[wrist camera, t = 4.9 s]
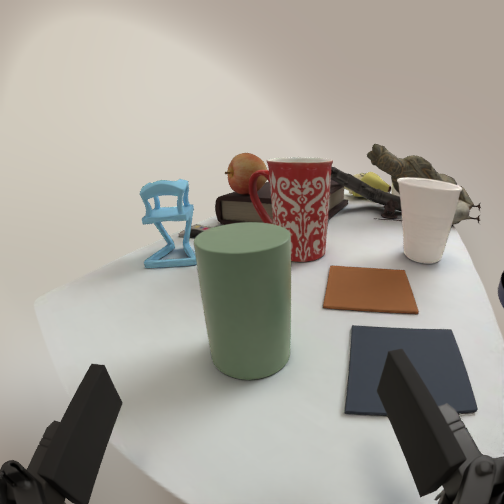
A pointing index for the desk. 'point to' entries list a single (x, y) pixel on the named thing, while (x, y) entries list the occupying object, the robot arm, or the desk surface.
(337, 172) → the handgun
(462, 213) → the decorative bird
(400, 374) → the robot arm
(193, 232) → the usb flash drive
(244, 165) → the apple
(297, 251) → the mug
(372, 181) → the toy
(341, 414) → the desk surface
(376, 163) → the statue
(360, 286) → the cork mat
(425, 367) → the slate mat
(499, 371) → the desk surface
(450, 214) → the cup
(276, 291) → the canister
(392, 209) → the figurine
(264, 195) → the book
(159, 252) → the chair
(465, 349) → the desk surface
